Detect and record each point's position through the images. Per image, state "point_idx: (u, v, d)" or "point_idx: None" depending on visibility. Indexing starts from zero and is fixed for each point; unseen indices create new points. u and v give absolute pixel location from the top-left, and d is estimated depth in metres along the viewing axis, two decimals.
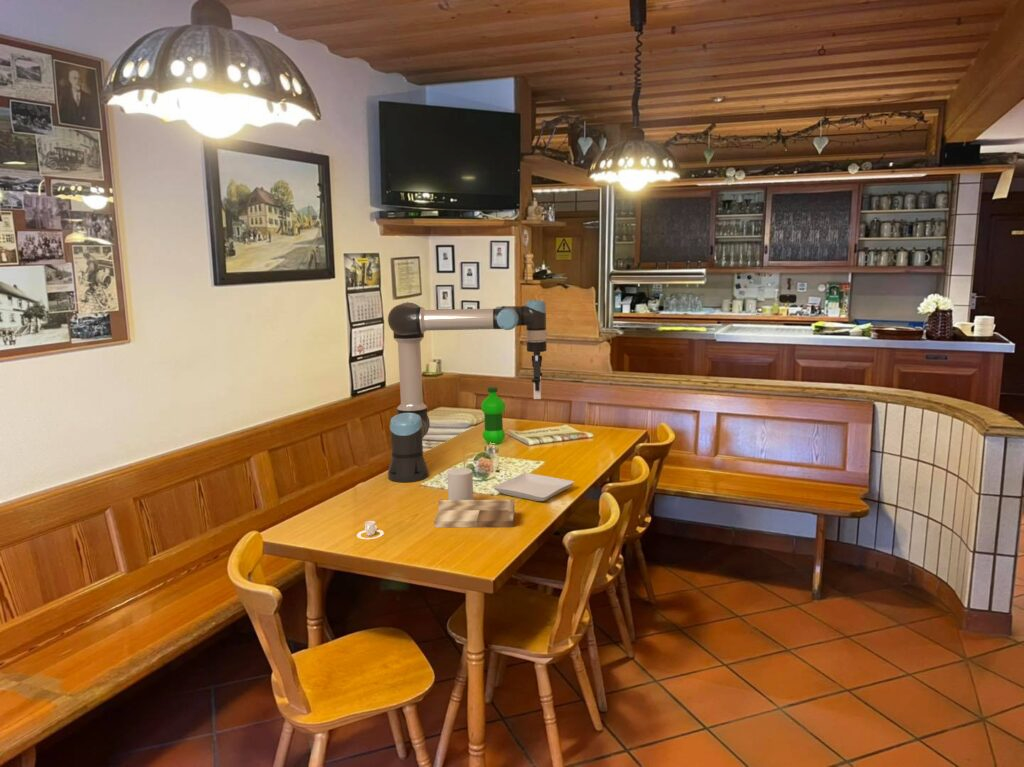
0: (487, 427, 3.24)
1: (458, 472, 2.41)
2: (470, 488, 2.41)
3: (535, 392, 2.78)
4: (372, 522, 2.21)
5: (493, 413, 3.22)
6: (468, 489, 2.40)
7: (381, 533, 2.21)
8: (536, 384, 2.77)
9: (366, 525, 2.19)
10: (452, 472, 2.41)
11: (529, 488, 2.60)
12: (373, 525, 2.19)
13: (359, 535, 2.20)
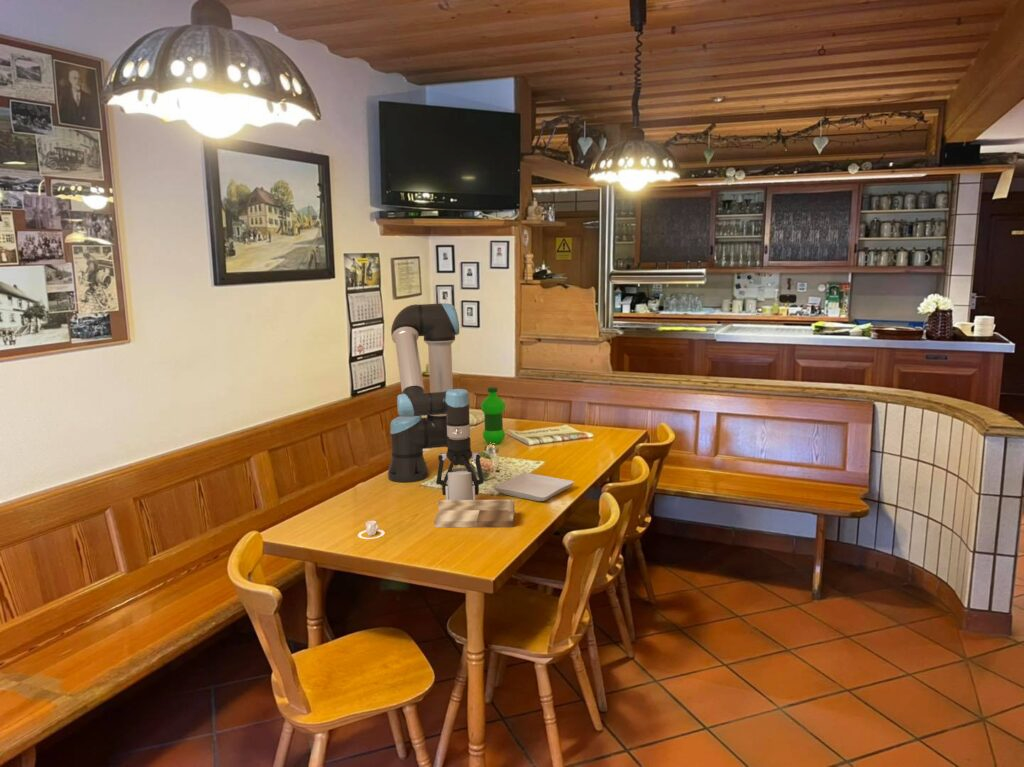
0: (487, 427, 3.24)
1: (458, 472, 2.41)
2: (470, 488, 2.41)
3: None
4: (373, 522, 2.21)
5: (493, 413, 3.22)
6: (468, 489, 2.40)
7: (382, 533, 2.21)
8: None
9: (367, 525, 2.19)
10: (452, 472, 2.41)
11: (529, 488, 2.60)
12: (374, 525, 2.19)
13: (360, 535, 2.20)
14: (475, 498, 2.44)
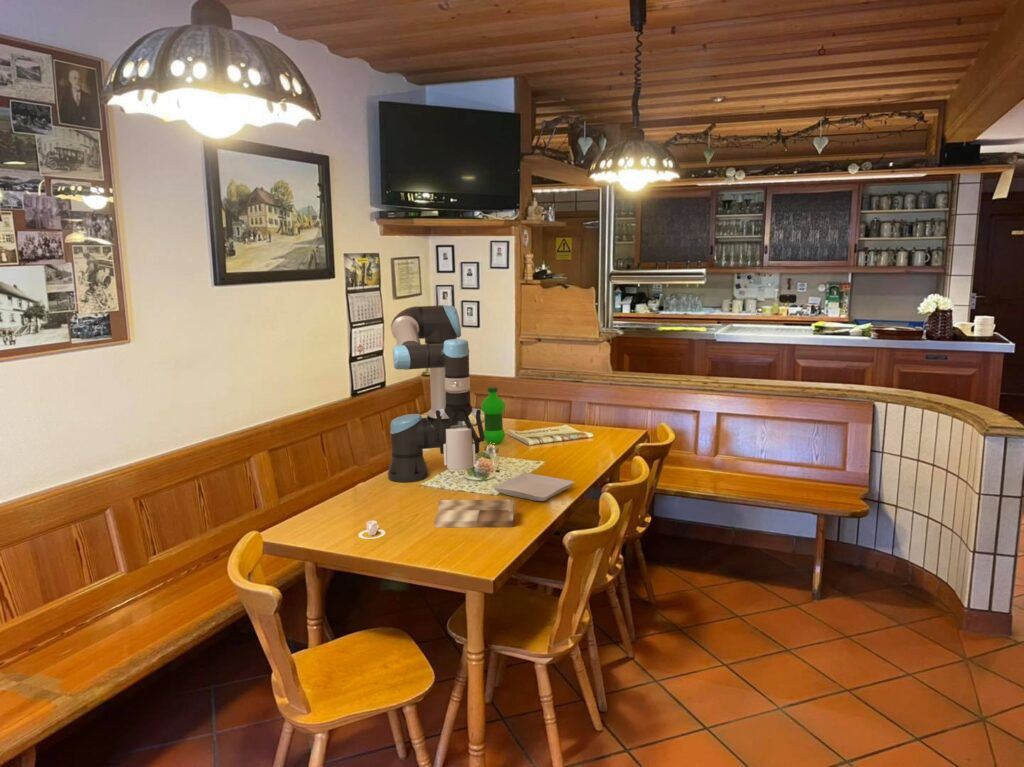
0: (487, 427, 3.24)
1: (457, 429, 2.23)
2: (470, 446, 2.23)
3: None
4: (374, 522, 2.21)
5: (493, 413, 3.22)
6: (468, 447, 2.23)
7: (383, 533, 2.21)
8: (440, 445, 2.26)
9: (368, 525, 2.19)
10: (450, 428, 2.24)
11: (529, 488, 2.60)
12: (375, 525, 2.19)
13: (361, 535, 2.20)
14: (475, 457, 2.26)
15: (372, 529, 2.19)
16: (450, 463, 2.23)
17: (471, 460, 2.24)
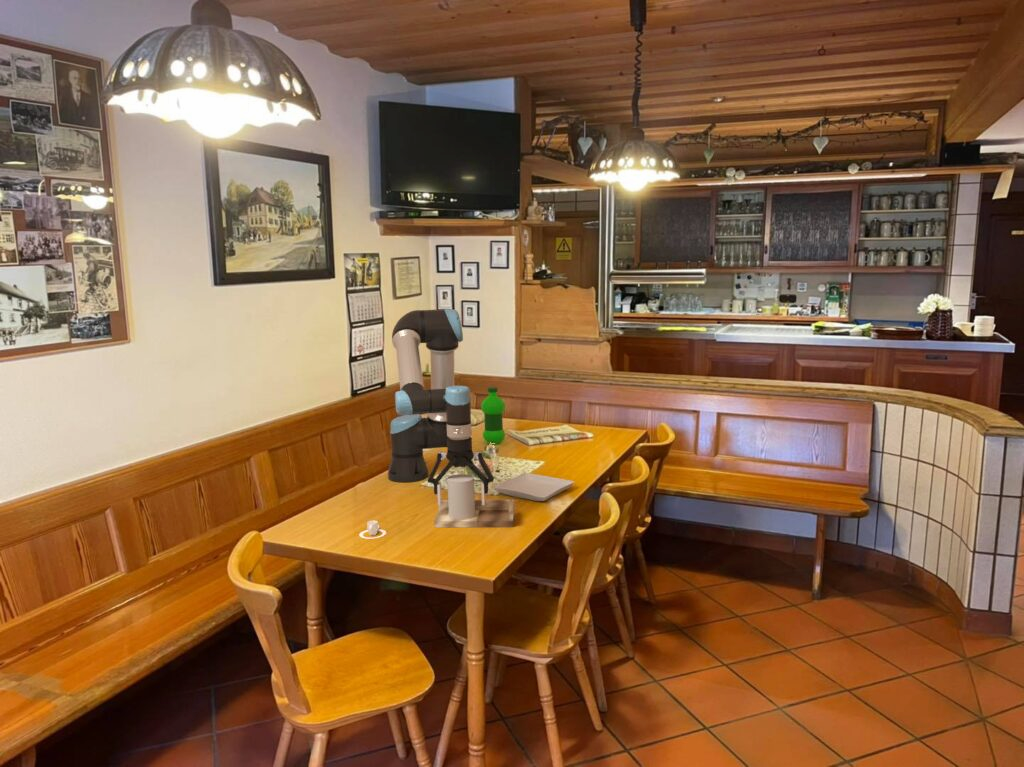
0: (487, 427, 3.24)
1: (458, 479, 2.26)
2: (471, 496, 2.26)
3: None
4: (374, 522, 2.22)
5: (493, 413, 3.22)
6: (469, 497, 2.25)
7: (383, 533, 2.21)
8: (434, 485, 2.28)
9: (368, 525, 2.19)
10: (452, 479, 2.26)
11: (529, 488, 2.60)
12: (375, 525, 2.19)
13: (361, 535, 2.20)
14: (484, 497, 2.28)
15: (373, 529, 2.19)
16: (452, 513, 2.26)
17: (472, 510, 2.27)
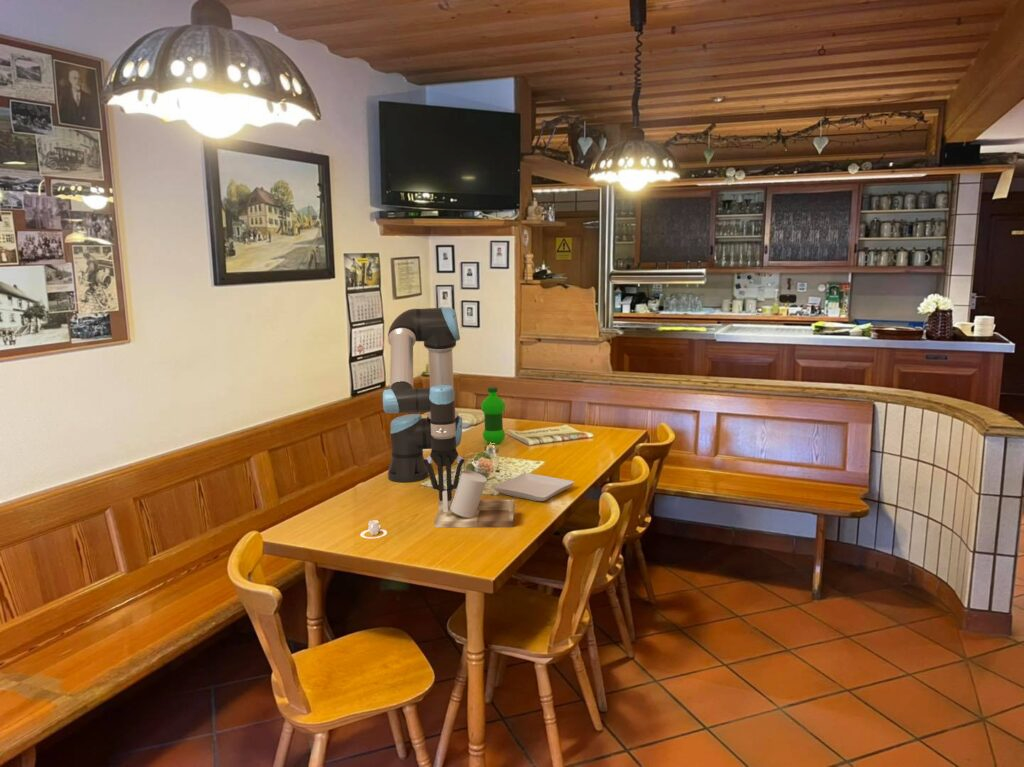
0: (487, 427, 3.24)
1: (472, 477, 2.25)
2: (479, 497, 2.26)
3: None
4: (375, 521, 2.22)
5: (493, 413, 3.22)
6: (477, 498, 2.25)
7: (384, 532, 2.21)
8: None
9: (369, 524, 2.19)
10: (466, 474, 2.26)
11: (529, 488, 2.60)
12: (376, 524, 2.20)
13: (362, 534, 2.20)
14: (448, 504, 2.29)
15: (374, 529, 2.19)
16: (455, 506, 2.25)
17: (475, 510, 2.27)
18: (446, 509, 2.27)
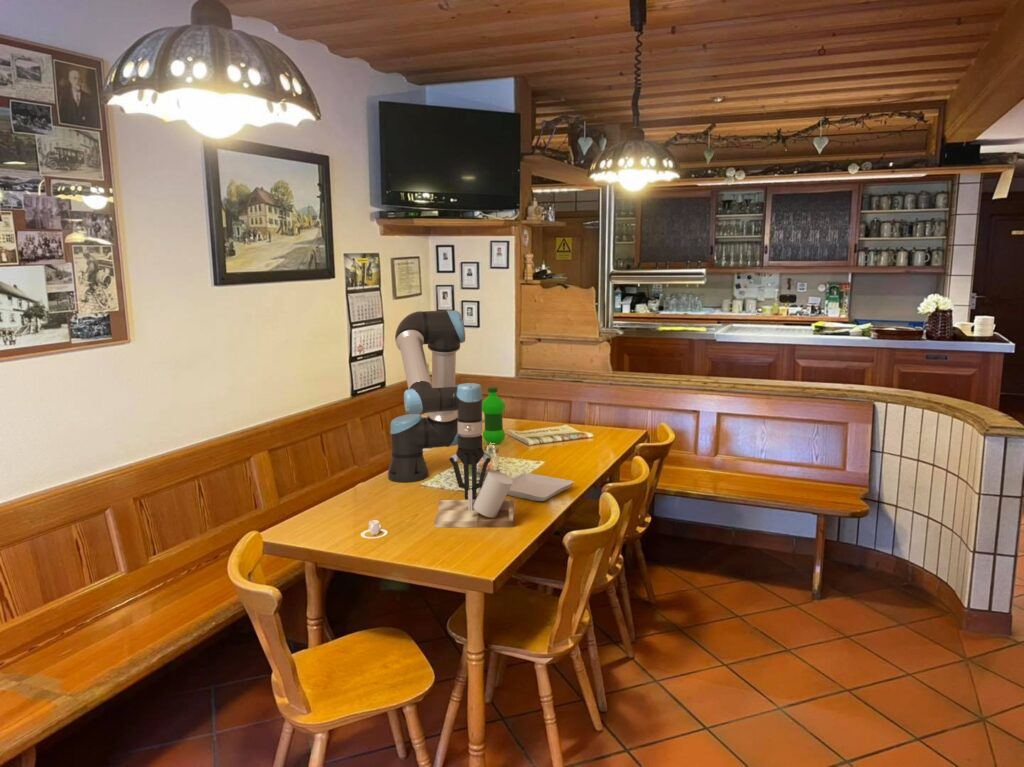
0: (487, 427, 3.24)
1: (499, 477, 2.24)
2: (503, 498, 2.25)
3: None
4: (376, 521, 2.22)
5: (493, 413, 3.22)
6: (501, 499, 2.24)
7: (385, 532, 2.21)
8: None
9: (370, 524, 2.19)
10: (493, 474, 2.24)
11: (529, 488, 2.60)
12: (377, 524, 2.20)
13: (363, 534, 2.20)
14: (472, 503, 2.28)
15: (374, 529, 2.19)
16: (478, 505, 2.25)
17: (497, 511, 2.26)
18: (471, 508, 2.26)
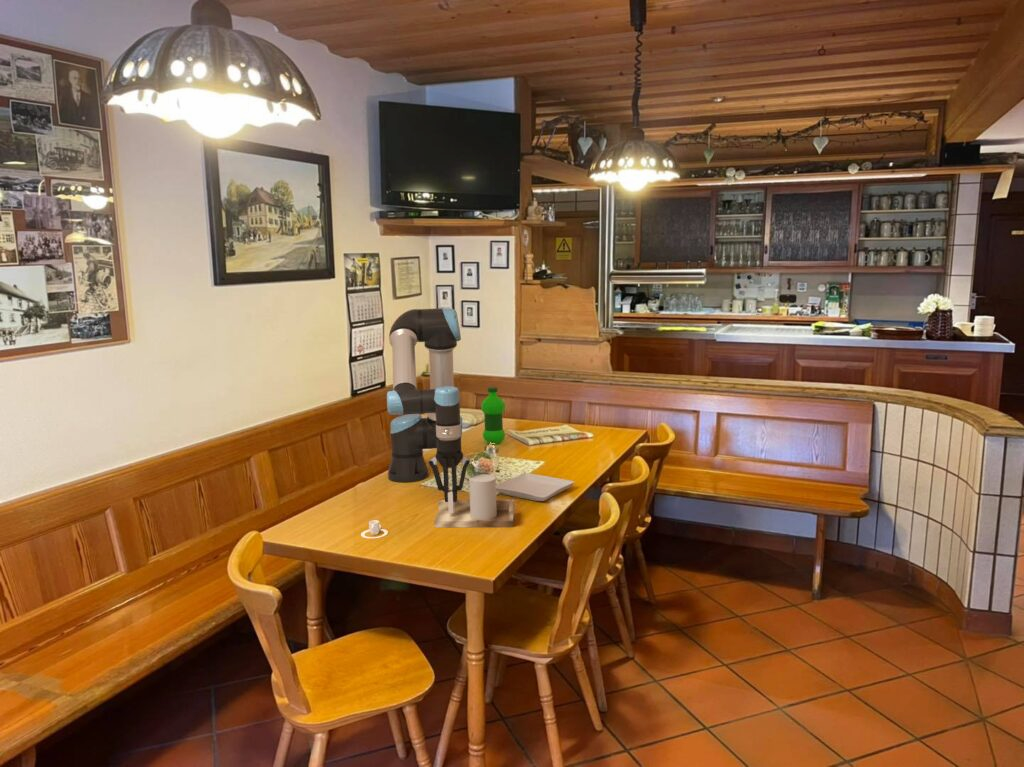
0: (487, 427, 3.24)
1: (480, 479, 2.25)
2: (493, 496, 2.25)
3: None
4: (376, 521, 2.22)
5: (493, 413, 3.22)
6: (491, 498, 2.25)
7: (385, 532, 2.21)
8: None
9: (370, 524, 2.19)
10: (474, 479, 2.26)
11: (529, 488, 2.60)
12: (377, 524, 2.20)
13: (363, 534, 2.20)
14: (453, 505, 2.29)
15: (374, 529, 2.19)
16: (473, 513, 2.26)
17: (493, 510, 2.26)
18: (452, 510, 2.28)
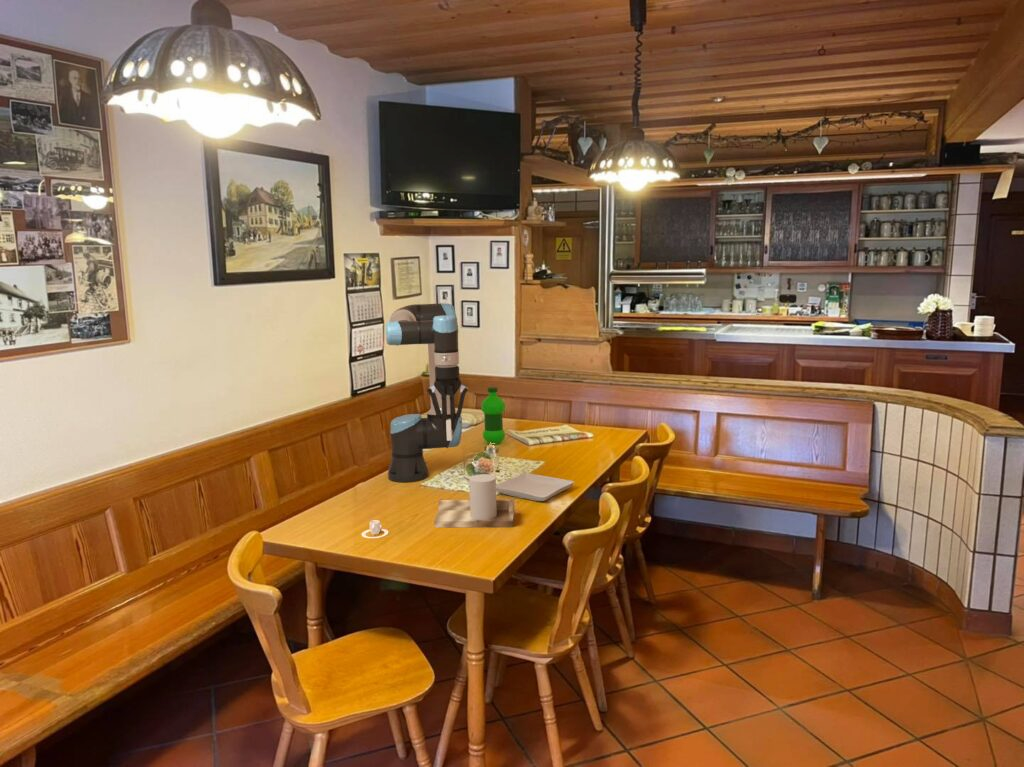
0: (487, 427, 3.24)
1: (480, 479, 2.25)
2: (493, 496, 2.25)
3: None
4: (377, 521, 2.22)
5: (493, 413, 3.22)
6: (491, 498, 2.25)
7: (386, 532, 2.22)
8: (443, 421, 2.32)
9: (371, 524, 2.19)
10: (474, 479, 2.26)
11: (529, 488, 2.60)
12: (378, 524, 2.20)
13: (364, 534, 2.20)
14: None
15: (375, 528, 2.19)
16: (473, 513, 2.26)
17: (493, 510, 2.26)
18: (450, 438, 2.32)
